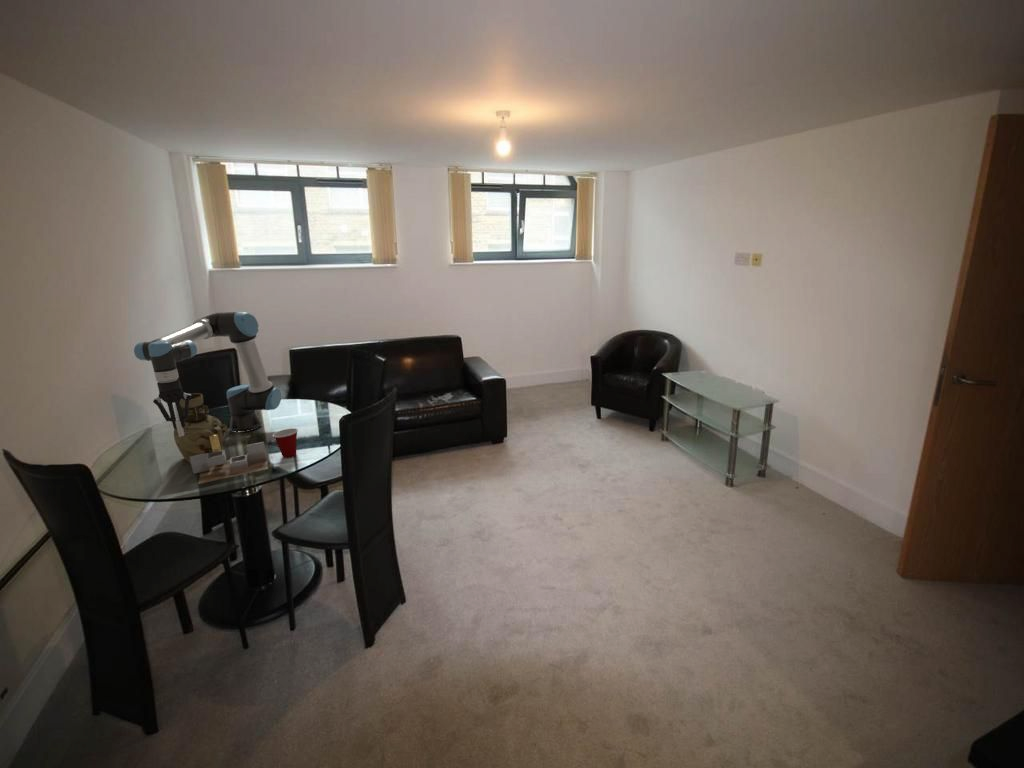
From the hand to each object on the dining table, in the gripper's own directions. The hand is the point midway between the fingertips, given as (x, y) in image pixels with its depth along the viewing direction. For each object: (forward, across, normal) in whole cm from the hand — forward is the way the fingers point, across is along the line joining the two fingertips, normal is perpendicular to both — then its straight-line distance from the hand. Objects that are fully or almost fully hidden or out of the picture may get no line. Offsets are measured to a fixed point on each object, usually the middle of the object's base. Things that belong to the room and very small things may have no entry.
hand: (181, 435), depth 200 cm
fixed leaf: (+19, +22, +1) cm, 29 cm away
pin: (+19, +10, +8) cm, 23 cm away
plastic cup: (+21, +38, +4) cm, 43 cm away
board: (+20, +16, +2) cm, 26 cm away
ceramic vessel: (+21, +3, +24) cm, 31 cm away
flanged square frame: (+19, +7, 0) cm, 20 cm away
